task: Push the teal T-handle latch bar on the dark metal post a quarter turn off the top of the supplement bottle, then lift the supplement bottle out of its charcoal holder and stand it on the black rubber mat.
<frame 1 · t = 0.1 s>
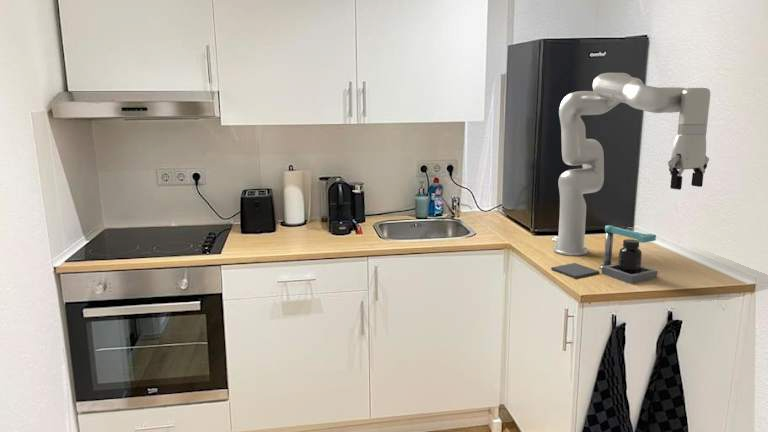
hand: (686, 187, 171), 31 cm above the worktop, tool pointing down, fingers open, 9 cm apart
bottle holder: (628, 275, 187), on the worktop
latch bar: (626, 233, 186), point 14 cm above the worktop, hinge at 0.0°
supplement bottle: (628, 276, 187), resting in bottle holder
rubber mat: (574, 271, 193), on the worktop
latch post: (607, 268, 195), on the worktop
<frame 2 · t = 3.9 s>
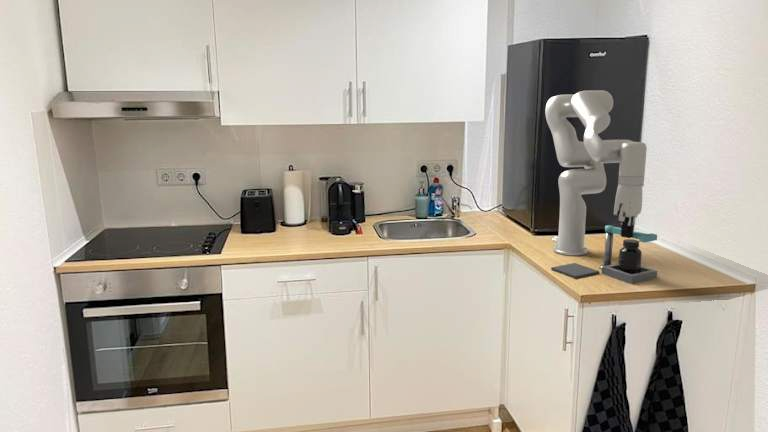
hand: (626, 236, 184), 14 cm above the worktop, tool pointing down, fingers closed
latch bar: (627, 233, 186), point 14 cm above the worktop, hinge at 2.9°, touching gripper
everything else where it was.
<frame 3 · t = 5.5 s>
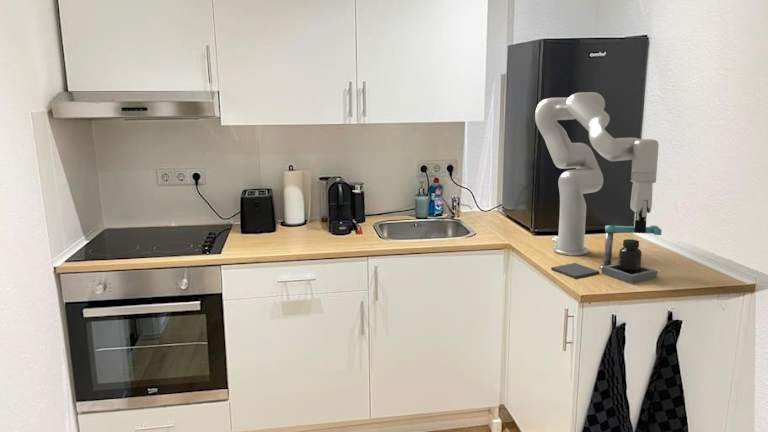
hand: (639, 232, 188), 14 cm above the worktop, tool pointing down, fingers closed
latch bar: (631, 229, 191), point 14 cm above the worktop, hinge at 52.4°, touching gripper
everything else where it was.
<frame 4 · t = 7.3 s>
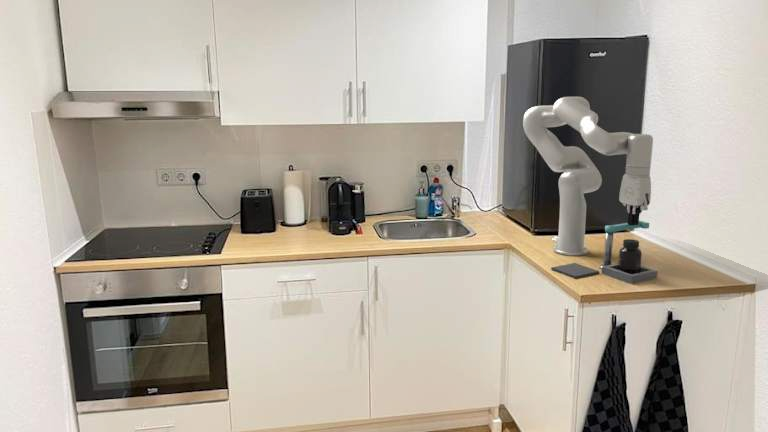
hand: (632, 224, 193), 15 cm above the worktop, tool pointing down, fingers closed
latch bar: (624, 226, 195), point 14 cm above the worktop, hinge at 89.1°
everything else where it was.
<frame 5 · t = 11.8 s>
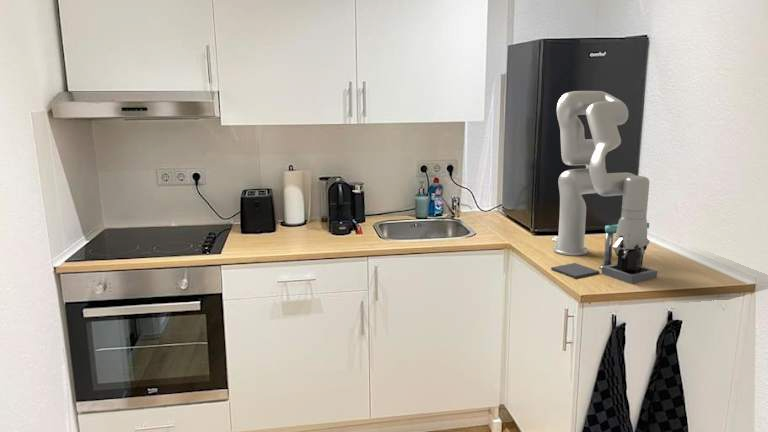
hand: (629, 266, 187), 3 cm above the worktop, tool pointing down, fingers closed on supplement bottle, 6 cm apart
supplement bottle: (628, 276, 187), resting in bottle holder, touching gripper
everything else where it was.
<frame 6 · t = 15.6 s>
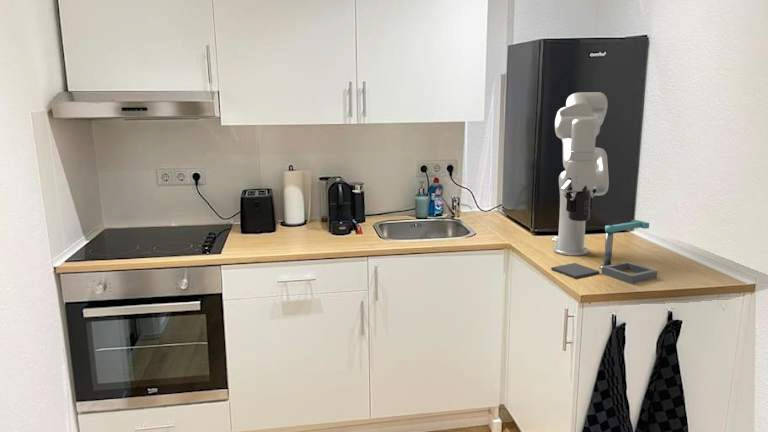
hand: (578, 209, 188), 21 cm above the worktop, tool pointing down, fingers closed on supplement bottle, 6 cm apart
supplement bottle: (578, 219, 189), point 18 cm above the worktop, touching gripper
everything else where it was.
when the fingers open (5 cm above the worktop, at t = 19.2 s): supplement bottle drops 1 cm, resting on rubber mat.
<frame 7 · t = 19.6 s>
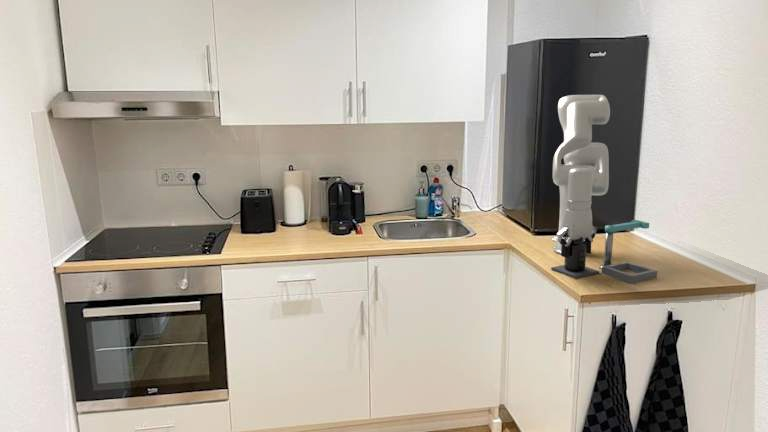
hand: (575, 254, 191), 6 cm above the worktop, tool pointing down, fingers open, 9 cm apart
supplement bottle: (574, 269, 192), point 1 cm above the worktop, touching rubber mat
everything else where it was.
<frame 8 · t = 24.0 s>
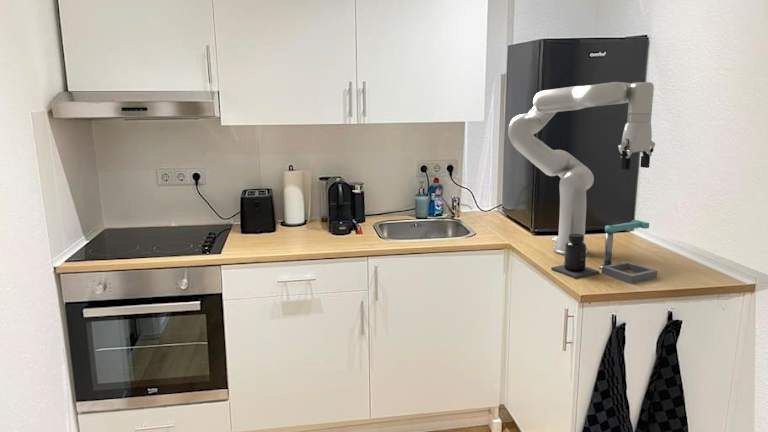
hand: (635, 168, 198), 33 cm above the worktop, tool pointing down, fingers open, 9 cm apart
nothing on the worktop moved.
at the end: latch bar at +89° (first picture: +0°); supplement bottle inside the target area on the rubber mat (0.2 cm from its centre), point 0.6 cm above the rubber mat's base; supplement bottle tilted 0° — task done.
